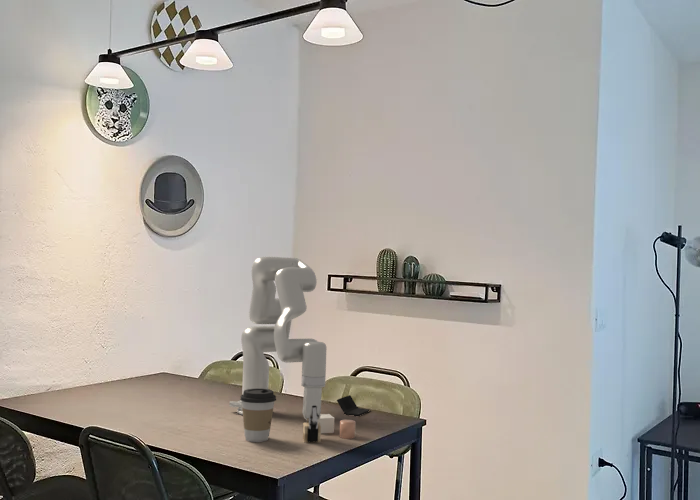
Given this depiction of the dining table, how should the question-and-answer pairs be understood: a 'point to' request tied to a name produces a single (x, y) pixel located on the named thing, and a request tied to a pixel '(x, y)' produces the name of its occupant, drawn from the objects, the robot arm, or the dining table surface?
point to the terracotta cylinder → (347, 429)
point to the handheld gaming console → (350, 406)
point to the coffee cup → (257, 413)
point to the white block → (326, 423)
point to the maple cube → (305, 432)
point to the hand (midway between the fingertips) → (311, 438)
